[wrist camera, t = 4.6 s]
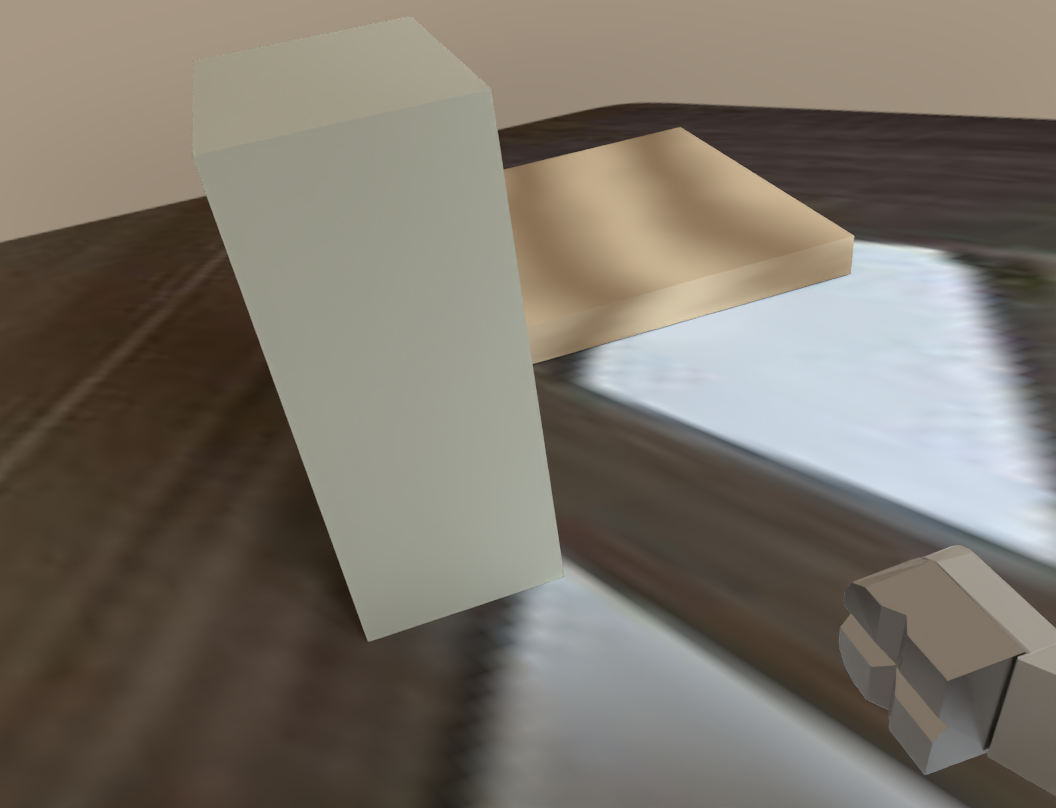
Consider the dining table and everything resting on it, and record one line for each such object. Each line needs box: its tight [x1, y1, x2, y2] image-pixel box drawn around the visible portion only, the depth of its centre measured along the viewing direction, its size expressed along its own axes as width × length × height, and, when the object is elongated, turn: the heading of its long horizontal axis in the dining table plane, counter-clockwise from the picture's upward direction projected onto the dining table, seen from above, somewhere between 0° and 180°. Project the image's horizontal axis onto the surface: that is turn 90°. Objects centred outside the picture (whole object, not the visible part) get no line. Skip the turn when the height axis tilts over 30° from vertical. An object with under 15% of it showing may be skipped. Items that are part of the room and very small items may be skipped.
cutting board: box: [503, 127, 854, 364], centre depth 35 cm, size 18×14×2 cm
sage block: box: [192, 16, 564, 642], centre depth 21 cm, size 5×7×12 cm
